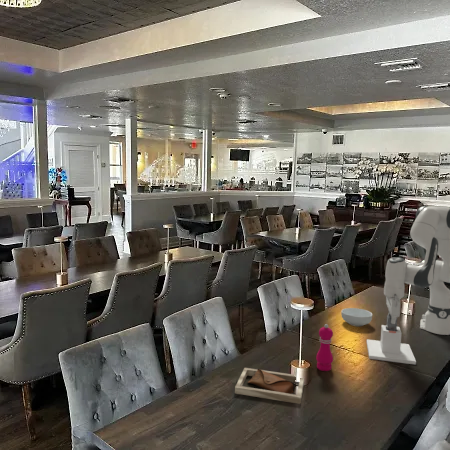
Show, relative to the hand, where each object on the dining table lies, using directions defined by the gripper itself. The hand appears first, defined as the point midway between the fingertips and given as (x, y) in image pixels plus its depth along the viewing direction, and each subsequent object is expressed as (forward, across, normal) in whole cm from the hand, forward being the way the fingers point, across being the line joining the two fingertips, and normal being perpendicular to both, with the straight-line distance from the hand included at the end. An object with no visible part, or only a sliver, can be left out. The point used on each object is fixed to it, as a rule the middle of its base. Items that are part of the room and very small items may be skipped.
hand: (391, 320), depth 197 cm
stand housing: (+16, 0, 0) cm, 16 cm away
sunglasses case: (+17, -50, +50) cm, 72 cm away
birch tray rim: (+17, -50, +50) cm, 72 cm away
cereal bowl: (+16, +36, +14) cm, 42 cm away
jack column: (+14, 0, 0) cm, 14 cm away
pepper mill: (+17, -26, +30) cm, 43 cm away
